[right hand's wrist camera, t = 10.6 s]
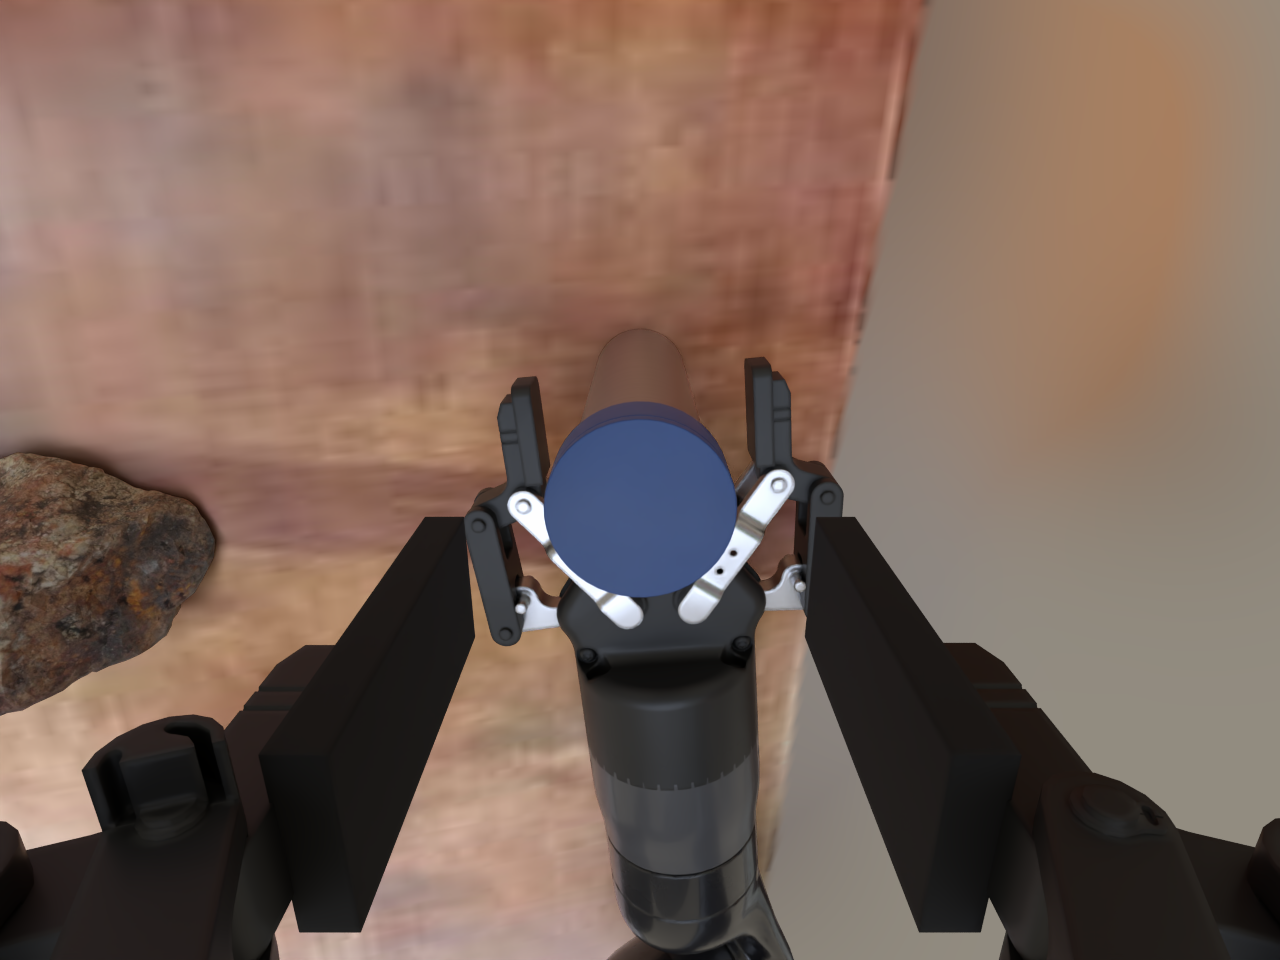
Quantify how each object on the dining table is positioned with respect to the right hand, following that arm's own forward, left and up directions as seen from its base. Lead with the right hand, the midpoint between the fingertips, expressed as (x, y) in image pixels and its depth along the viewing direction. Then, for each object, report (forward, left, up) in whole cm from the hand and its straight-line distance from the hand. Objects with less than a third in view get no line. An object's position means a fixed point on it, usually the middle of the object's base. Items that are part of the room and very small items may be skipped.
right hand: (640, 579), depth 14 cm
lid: (0, 0, -4) cm, 4 cm away
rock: (+5, -29, -19) cm, 35 cm away
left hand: (-1, 0, -13) cm, 13 cm away
